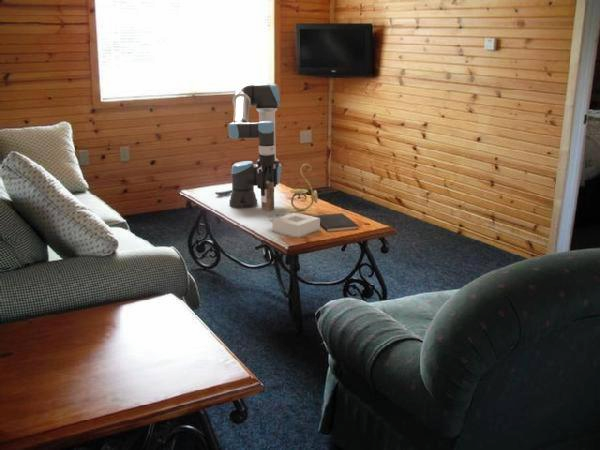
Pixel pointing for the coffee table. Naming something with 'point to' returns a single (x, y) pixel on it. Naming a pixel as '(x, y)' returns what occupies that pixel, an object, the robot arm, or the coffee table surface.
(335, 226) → the hardcover book
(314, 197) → the wall sconce
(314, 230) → the grey well block
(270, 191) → the walnut peg
